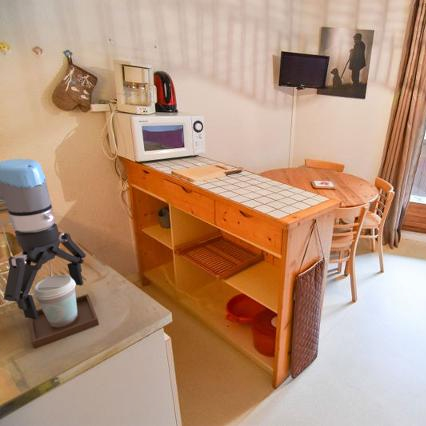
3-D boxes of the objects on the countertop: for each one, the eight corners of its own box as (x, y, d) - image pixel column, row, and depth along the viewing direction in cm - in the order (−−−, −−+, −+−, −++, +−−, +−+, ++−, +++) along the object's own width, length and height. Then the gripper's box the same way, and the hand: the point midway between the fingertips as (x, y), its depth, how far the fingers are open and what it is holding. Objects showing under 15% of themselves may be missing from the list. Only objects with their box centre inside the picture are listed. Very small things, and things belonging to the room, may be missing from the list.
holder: (30, 318, 85) (28, 312, 84) (89, 299, 94) (87, 293, 93) (34, 348, 76) (32, 342, 76) (99, 324, 85) (97, 318, 84)
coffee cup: (35, 325, 82) (22, 287, 78) (70, 305, 90) (60, 270, 85) (57, 335, 80) (45, 297, 75) (91, 315, 87) (82, 278, 83)
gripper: (-6, 255, 62) (23, 337, 71) (92, 208, 85) (105, 274, 94) (-41, 250, 63) (-8, 331, 71) (65, 205, 86) (81, 271, 94)
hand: (56, 299), depth 82 cm, fingers open, 13 cm apart
